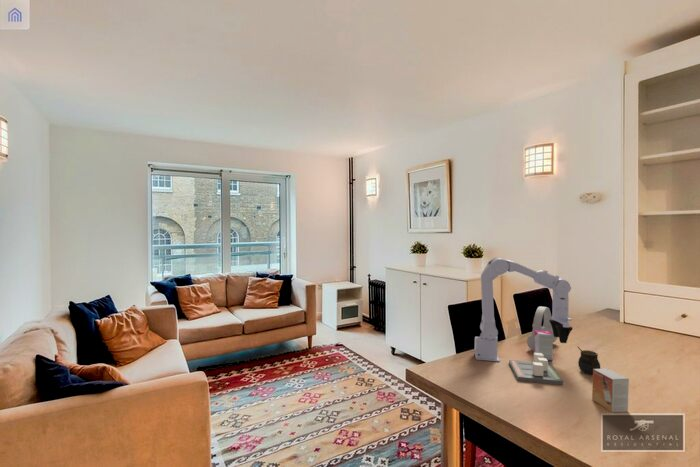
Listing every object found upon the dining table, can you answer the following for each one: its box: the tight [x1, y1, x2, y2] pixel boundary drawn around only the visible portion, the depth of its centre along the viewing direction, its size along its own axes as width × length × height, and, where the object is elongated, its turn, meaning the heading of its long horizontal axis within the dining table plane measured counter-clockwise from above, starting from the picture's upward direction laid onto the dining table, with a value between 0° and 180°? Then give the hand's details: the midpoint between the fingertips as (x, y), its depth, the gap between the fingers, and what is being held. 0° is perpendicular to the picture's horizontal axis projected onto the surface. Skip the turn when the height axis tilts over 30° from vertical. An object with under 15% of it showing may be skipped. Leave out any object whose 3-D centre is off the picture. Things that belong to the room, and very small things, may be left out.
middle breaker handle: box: [537, 358, 549, 371], centre depth 135 cm, size 3×3×4 cm
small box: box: [591, 368, 630, 413], centre depth 111 cm, size 8×6×10 cm
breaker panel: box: [508, 359, 564, 386], centre depth 136 cm, size 15×17×2 cm
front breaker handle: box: [532, 361, 543, 376], centre depth 131 cm, size 3×3×4 cm
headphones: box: [526, 305, 558, 352], centre depth 165 cm, size 20×8×19 cm, turn 136°
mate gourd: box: [577, 346, 601, 376], centre depth 137 cm, size 7×8×10 cm
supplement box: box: [533, 330, 554, 362], centre depth 151 cm, size 6×6×12 cm
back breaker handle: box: [533, 352, 544, 362], centre depth 141 cm, size 3×3×4 cm
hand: (560, 339), depth 145 cm, fingers open, 7 cm apart
